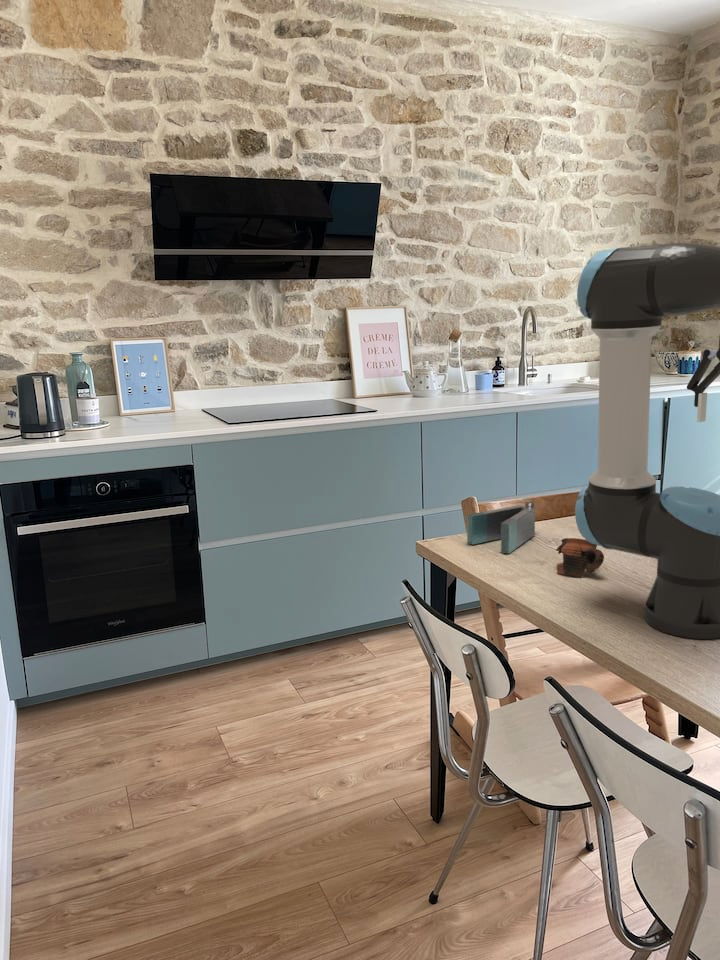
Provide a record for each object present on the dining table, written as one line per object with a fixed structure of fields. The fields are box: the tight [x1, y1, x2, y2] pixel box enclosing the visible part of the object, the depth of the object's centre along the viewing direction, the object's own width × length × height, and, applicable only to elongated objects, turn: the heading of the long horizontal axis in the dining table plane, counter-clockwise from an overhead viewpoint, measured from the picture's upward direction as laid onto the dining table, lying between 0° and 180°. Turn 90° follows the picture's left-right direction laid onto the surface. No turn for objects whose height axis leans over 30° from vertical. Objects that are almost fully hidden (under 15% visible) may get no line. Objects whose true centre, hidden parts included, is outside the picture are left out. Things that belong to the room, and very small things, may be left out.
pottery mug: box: [556, 537, 605, 578], centre depth 158 cm, size 12×10×8 cm
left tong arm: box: [466, 504, 525, 546], centre depth 182 cm, size 16×2×7 cm, turn 118°
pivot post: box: [524, 501, 535, 509], centre depth 185 cm, size 2×2×8 cm
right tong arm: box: [500, 507, 536, 554], centre depth 177 cm, size 16×2×7 cm, turn 146°
